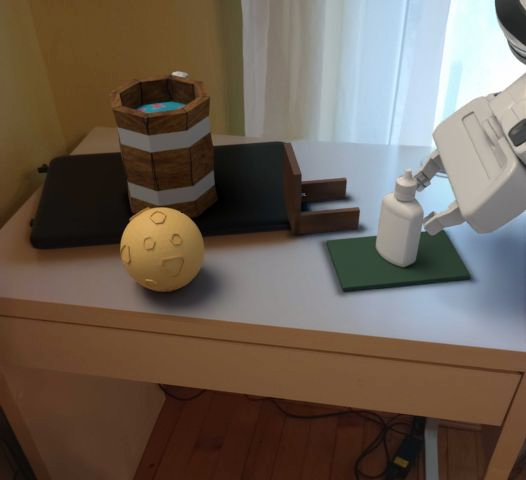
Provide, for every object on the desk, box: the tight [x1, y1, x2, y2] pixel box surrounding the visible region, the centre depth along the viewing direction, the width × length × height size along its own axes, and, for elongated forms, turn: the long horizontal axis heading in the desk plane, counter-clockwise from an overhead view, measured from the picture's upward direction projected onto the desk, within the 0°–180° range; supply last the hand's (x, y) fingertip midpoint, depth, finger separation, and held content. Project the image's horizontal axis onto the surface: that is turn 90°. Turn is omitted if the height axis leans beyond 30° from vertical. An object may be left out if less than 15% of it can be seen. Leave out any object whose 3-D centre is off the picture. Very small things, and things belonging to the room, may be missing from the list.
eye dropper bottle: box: [376, 168, 425, 267], centre depth 76 cm, size 4×6×12 cm
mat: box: [325, 229, 472, 292], centre depth 80 cm, size 16×10×1 cm, turn 97°
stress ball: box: [119, 207, 205, 292], centre depth 75 cm, size 10×10×10 cm
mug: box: [108, 70, 219, 219], centre depth 89 cm, size 20×14×15 cm
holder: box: [282, 141, 361, 236], centre depth 85 cm, size 9×9×9 cm
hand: (419, 206), depth 74 cm, fingers open, 8 cm apart
